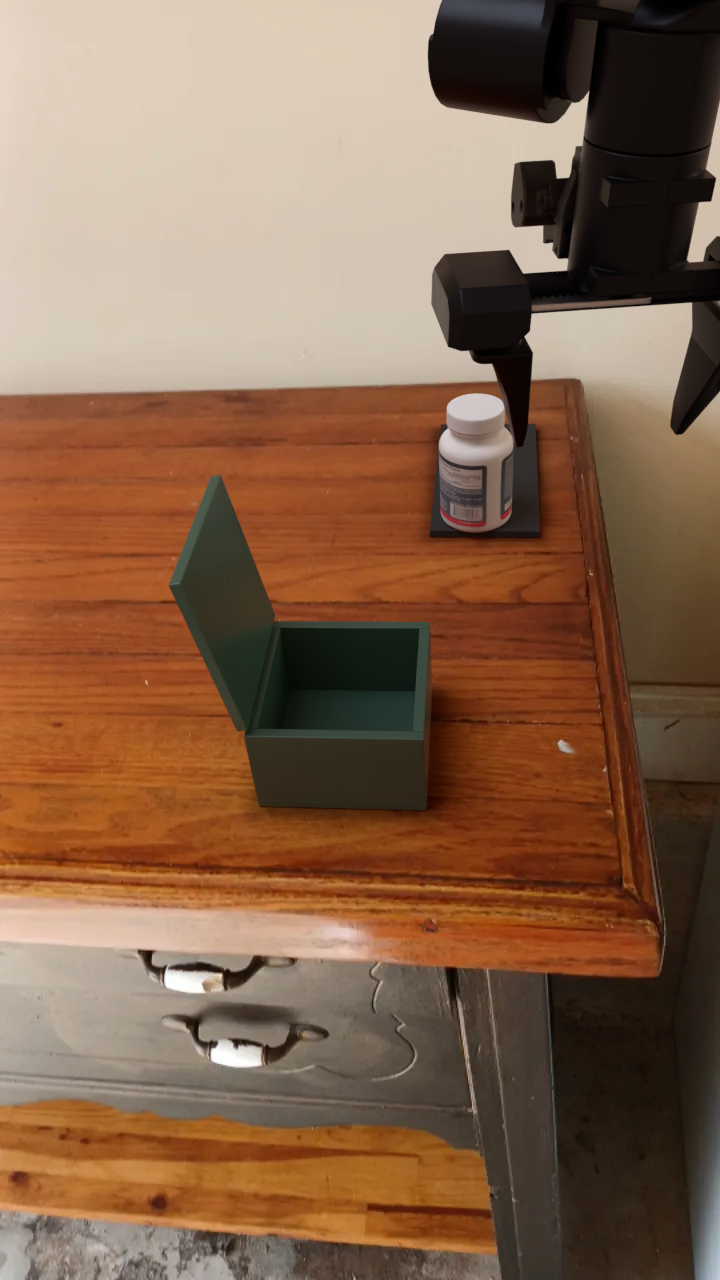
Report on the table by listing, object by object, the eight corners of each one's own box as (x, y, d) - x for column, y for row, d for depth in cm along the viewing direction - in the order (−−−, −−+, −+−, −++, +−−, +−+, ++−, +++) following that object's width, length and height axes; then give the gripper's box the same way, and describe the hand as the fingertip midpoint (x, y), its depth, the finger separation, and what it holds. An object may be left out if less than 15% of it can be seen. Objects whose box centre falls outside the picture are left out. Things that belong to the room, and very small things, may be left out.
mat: (539, 538, 70) (540, 531, 69) (429, 537, 71) (429, 530, 70) (535, 429, 81) (535, 423, 81) (441, 430, 83) (440, 424, 82)
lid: (220, 474, 49) (210, 476, 49) (179, 583, 42) (167, 585, 43) (275, 615, 55) (266, 616, 55) (247, 731, 48) (236, 732, 49)
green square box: (432, 691, 58) (430, 621, 55) (426, 811, 51) (423, 739, 48) (283, 689, 59) (271, 620, 56) (258, 806, 52) (243, 736, 49)
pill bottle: (488, 488, 74) (490, 381, 68) (524, 521, 70) (530, 411, 64) (427, 507, 72) (424, 400, 67) (461, 542, 69) (461, 431, 63)
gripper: (769, 83, 50) (703, 360, 61) (418, 102, 49) (413, 381, 60) (876, 146, 42) (778, 453, 53) (457, 171, 41) (444, 480, 51)
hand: (597, 437), depth 54 cm, fingers open, 9 cm apart
